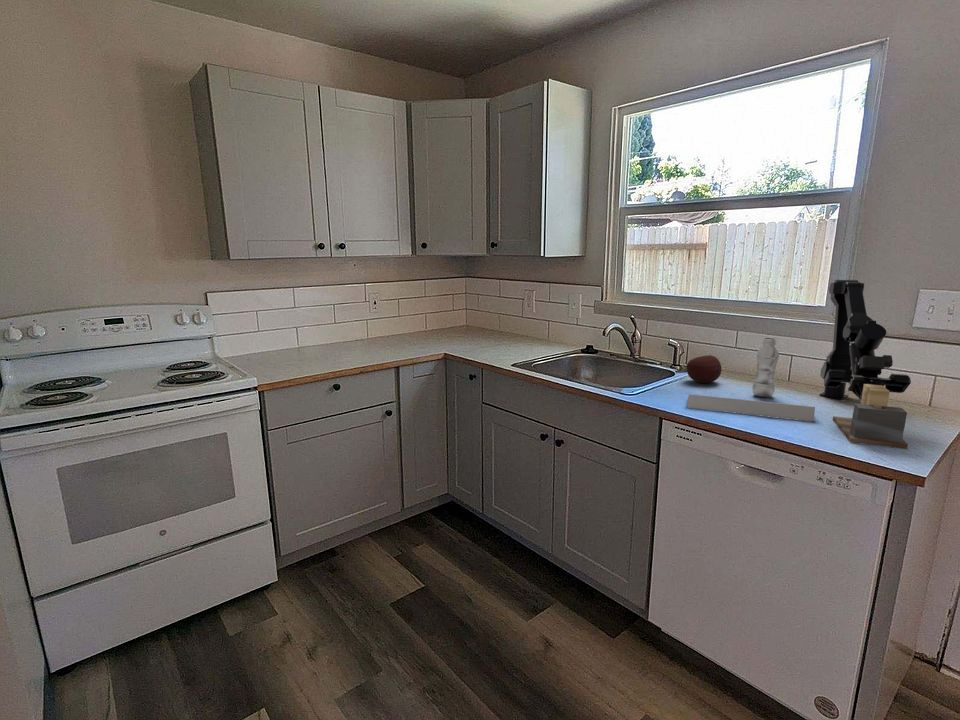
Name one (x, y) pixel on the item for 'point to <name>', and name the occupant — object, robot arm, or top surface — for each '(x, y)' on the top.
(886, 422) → the walnut sill
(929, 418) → the top surface
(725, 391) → the top surface
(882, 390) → the pale yellow box
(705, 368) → the potato
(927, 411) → the top surface
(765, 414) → the decorative molding
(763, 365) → the plastic bottle
